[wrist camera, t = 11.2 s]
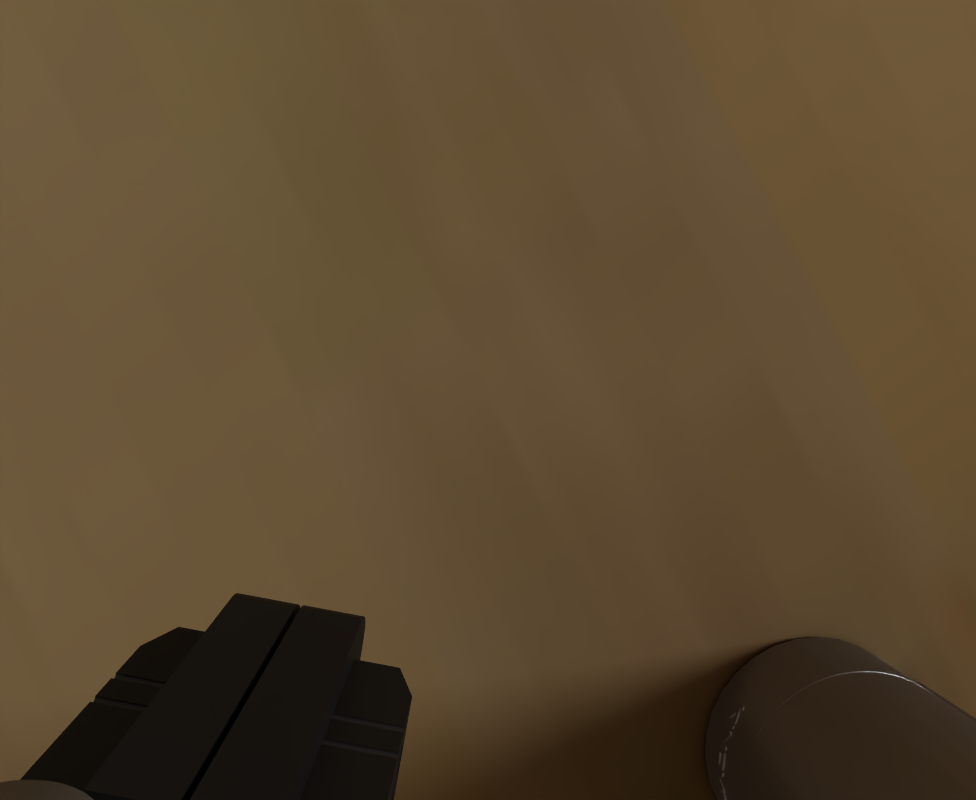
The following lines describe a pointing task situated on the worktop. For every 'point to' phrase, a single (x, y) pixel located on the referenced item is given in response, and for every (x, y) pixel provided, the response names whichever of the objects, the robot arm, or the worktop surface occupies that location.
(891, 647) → the worktop surface
